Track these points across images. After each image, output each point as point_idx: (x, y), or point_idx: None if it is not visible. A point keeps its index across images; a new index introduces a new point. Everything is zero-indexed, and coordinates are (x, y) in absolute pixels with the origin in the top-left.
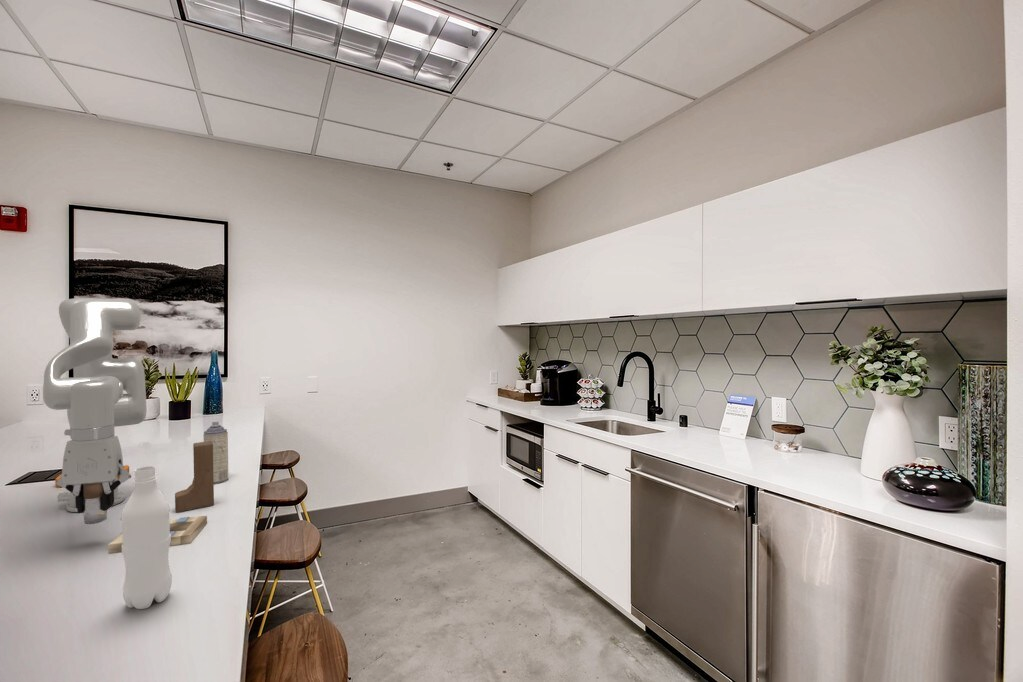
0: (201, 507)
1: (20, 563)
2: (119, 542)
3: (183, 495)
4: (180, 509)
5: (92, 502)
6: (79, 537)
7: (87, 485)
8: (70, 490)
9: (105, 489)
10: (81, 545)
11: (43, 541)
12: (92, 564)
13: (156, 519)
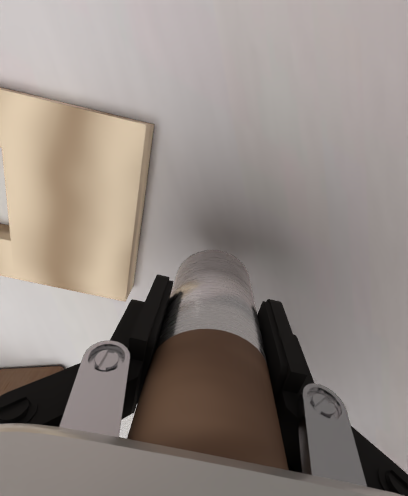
0: (5, 369)
1: (396, 190)
2: (111, 126)
3: None
4: (48, 370)
5: (211, 311)
6: None
7: (248, 448)
8: (369, 451)
9: (113, 374)
10: (251, 250)
11: (348, 332)
12: (180, 28)
13: None
